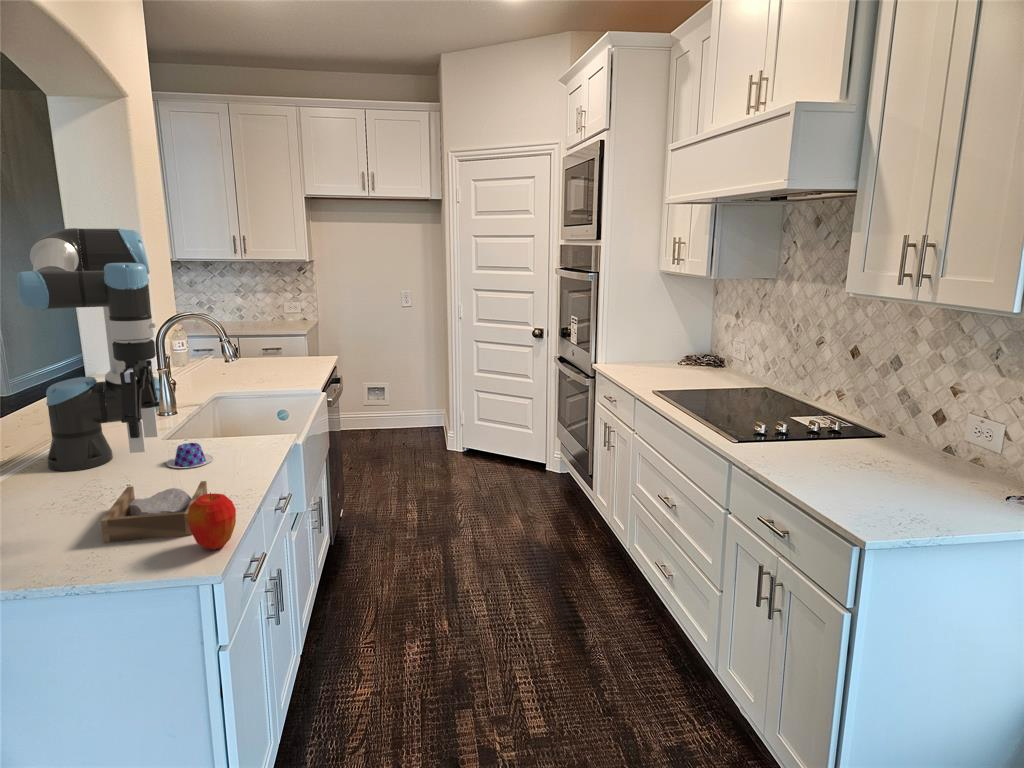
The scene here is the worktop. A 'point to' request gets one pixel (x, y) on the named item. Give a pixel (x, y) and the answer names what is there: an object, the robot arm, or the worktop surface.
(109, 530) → the cubby
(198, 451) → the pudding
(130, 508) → the stone block
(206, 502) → the apple
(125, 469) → the worktop surface
